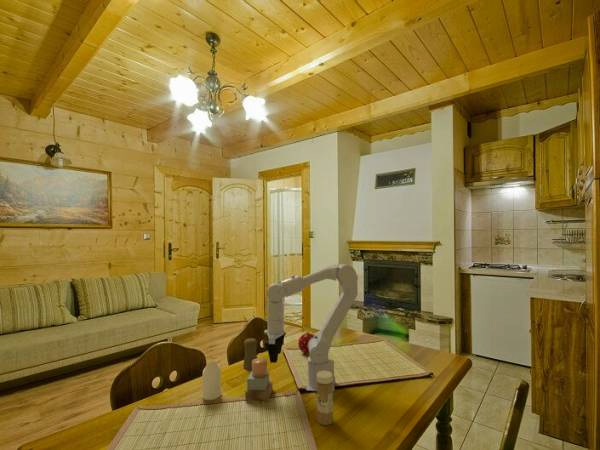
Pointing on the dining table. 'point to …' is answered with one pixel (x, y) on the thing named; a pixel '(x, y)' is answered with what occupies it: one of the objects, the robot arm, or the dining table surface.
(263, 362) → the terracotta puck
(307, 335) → the christmas ornament
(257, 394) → the walnut slab
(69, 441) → the dining table surface
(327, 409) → the sprinkles bottle
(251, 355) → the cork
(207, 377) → the cream domed cylinder
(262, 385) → the slate-grey block
